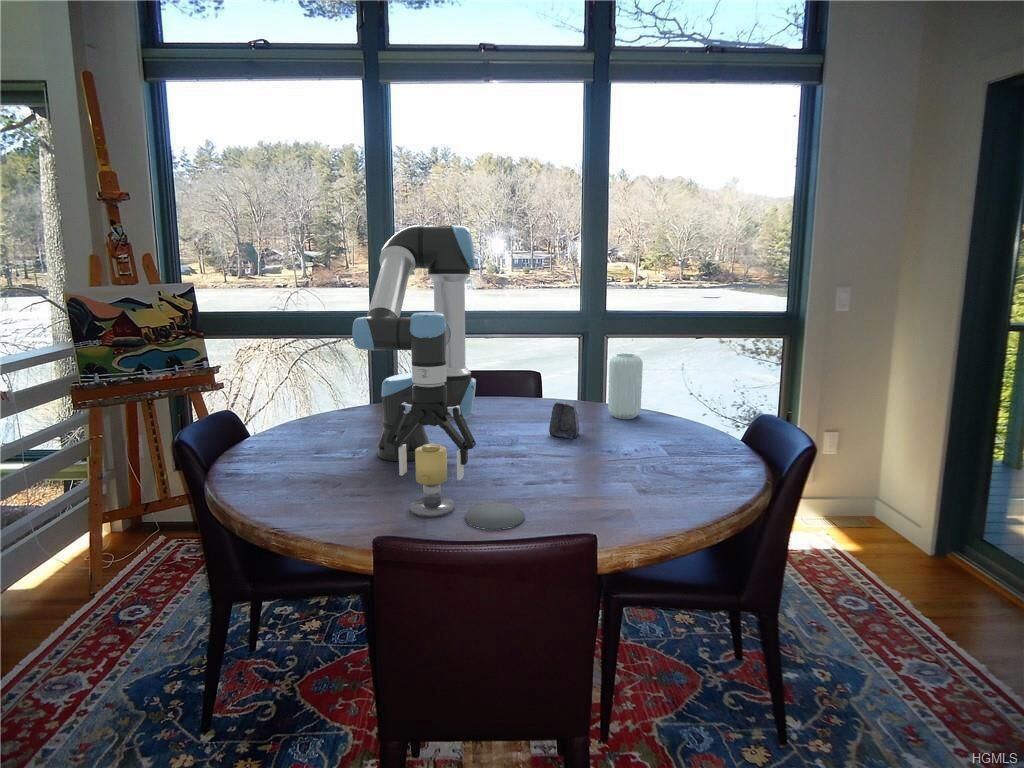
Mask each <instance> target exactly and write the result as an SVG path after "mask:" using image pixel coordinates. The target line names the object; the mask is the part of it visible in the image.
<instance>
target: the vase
mask: <svg viewBox="0 0 1024 768" xmlns="http://www.w3.org/2000/svg"><path fill="white" fill-rule="evenodd" d="M643 365H644V363H643V360H642V358H641V357H640V356H638V354H635V353H627V352H626V353H623V352H622V353H617V354H616V353H615V355H613V356H612V357H611V358H610V360H609V366H608V367H609V369H608V371H609V372H608V373H609V374H608V399H607V400H608V402H607V409H608V412H609V414H610V415H611V416H612V417H614V418H615V419H619V420H631V419H635V418H636V417H637V416H638V415H639V414H640V413H641V410H642V392H643V391H642V389H643V388H642V387H643Z"/></svg>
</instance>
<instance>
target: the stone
mask: <svg viewBox="0 0 1024 768" xmlns="http://www.w3.org/2000/svg"><path fill="white" fill-rule="evenodd" d="M579 419H580V418H579V414H578V411H577V407H576V403H575V402H574V403H573V402H572V403H570V402H568V401H560V402H559V401H558V402H555V403H554V404H553V406H552V410H551V418H550V423H549V427H548V428H549V430H548V432H549V435H550V436H553V437H554V436H555V437H557V438H558V437H559V438H560V437H561V438H566V439H575V438H577V436H578V434H579V432H580V420H579Z"/></svg>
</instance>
